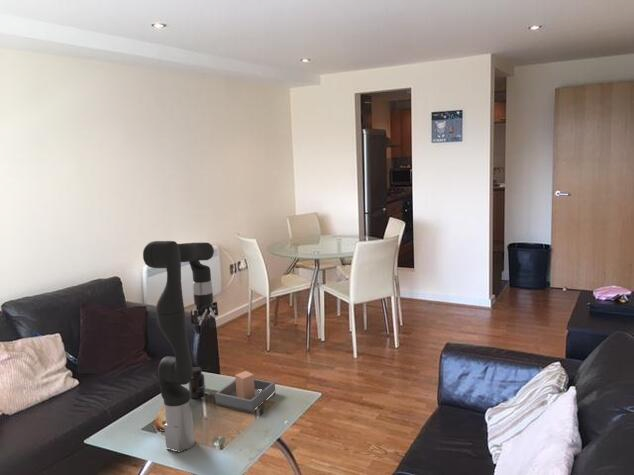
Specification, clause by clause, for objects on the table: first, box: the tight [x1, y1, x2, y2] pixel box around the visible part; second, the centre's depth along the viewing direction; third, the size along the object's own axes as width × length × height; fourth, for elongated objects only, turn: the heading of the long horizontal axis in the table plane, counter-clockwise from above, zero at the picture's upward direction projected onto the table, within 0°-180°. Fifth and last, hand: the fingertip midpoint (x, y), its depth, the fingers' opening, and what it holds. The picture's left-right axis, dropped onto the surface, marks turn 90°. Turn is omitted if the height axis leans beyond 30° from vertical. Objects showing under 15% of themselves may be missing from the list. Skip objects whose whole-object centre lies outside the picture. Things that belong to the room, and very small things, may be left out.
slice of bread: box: [154, 406, 166, 431], centre depth 210 cm, size 18×18×4 cm
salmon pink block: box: [234, 370, 255, 400], centre depth 221 cm, size 6×6×10 cm
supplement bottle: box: [188, 366, 206, 399], centre depth 227 cm, size 7×7×12 cm
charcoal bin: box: [214, 378, 276, 414], centre depth 222 cm, size 18×18×5 cm
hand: (205, 330), depth 213 cm, fingers open, 8 cm apart
